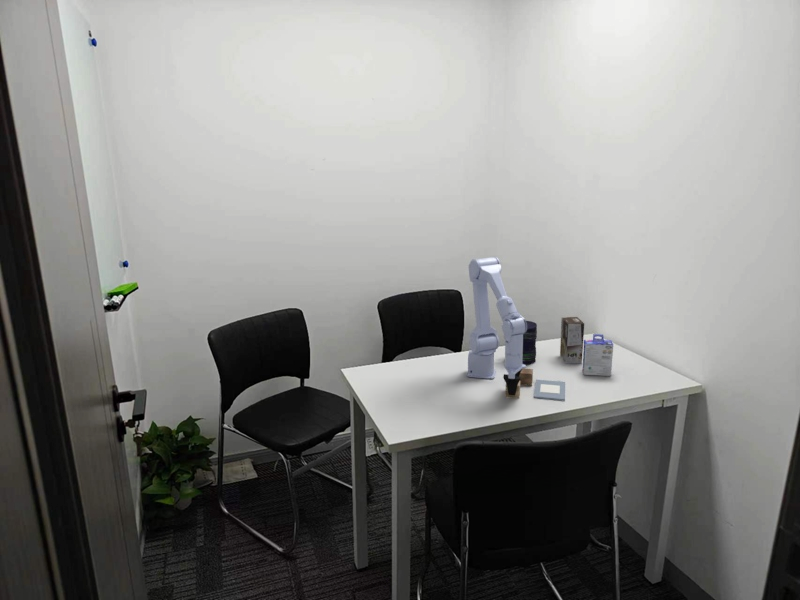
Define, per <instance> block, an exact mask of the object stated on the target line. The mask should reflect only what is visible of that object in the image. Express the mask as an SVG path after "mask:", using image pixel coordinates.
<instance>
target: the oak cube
mask: <svg viewBox="0 0 800 600" xmlns="http://www.w3.org/2000/svg"><path fill="white" fill-rule="evenodd" d="M520 395H521V385H520V381H519V383H518V385H517V390H516V394H515V396H514V395H509V394H508V389H507V385H506V384H505V395H504V396H505V398H510V399H511V398H513V399H520Z"/></svg>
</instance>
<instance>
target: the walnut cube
mask: <svg viewBox="0 0 800 600" xmlns="http://www.w3.org/2000/svg"><path fill="white" fill-rule="evenodd" d="M533 374H534V369H532V368H525V369H522V370H521V372H520V375H519V376H520V377H521V379H520V386H531V387H532V386H533V377H534V375H533Z"/></svg>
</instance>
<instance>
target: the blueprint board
mask: <svg viewBox="0 0 800 600" xmlns="http://www.w3.org/2000/svg"><path fill="white" fill-rule="evenodd" d="M533 398H534V399H540V400H541V399H542V400H553V401H561V402H562V401H563V402H564V401H566V381H559V380H545V379H536V380H535V386H534V394H533Z"/></svg>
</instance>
